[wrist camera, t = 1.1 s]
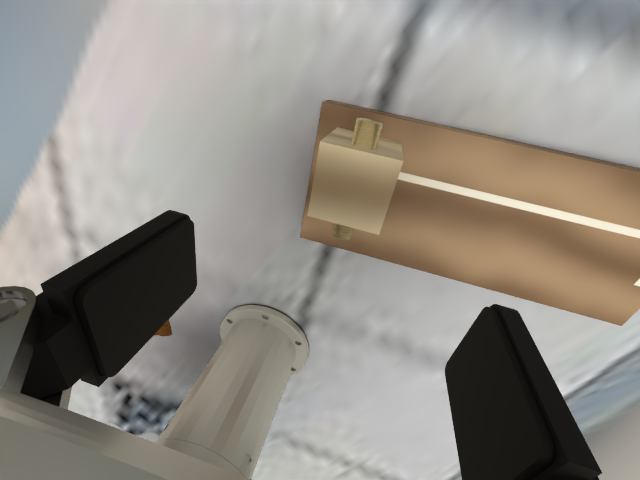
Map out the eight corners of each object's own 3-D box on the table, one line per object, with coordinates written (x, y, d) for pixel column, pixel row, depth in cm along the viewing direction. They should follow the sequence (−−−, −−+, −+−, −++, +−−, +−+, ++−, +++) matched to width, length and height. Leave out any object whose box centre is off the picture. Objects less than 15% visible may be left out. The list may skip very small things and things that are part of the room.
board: (603, 306, 27) (621, 326, 25) (306, 225, 30) (299, 237, 28) (717, 185, 21) (754, 198, 19) (328, 99, 24) (322, 101, 22)
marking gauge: (377, 218, 25) (373, 253, 20) (322, 203, 26) (304, 234, 20) (408, 120, 21) (412, 134, 16) (341, 106, 21) (324, 114, 16)
